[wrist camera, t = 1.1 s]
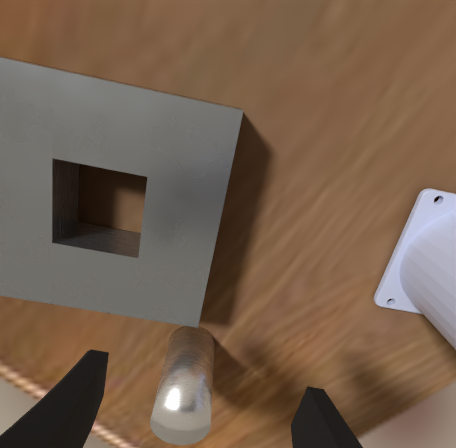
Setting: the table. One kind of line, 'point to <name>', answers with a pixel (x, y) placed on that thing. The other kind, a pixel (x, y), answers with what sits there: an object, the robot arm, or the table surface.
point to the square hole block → (118, 161)
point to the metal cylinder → (185, 388)
